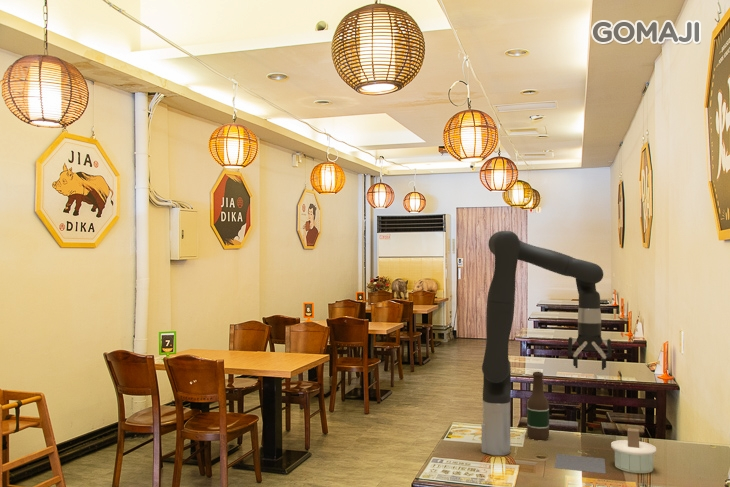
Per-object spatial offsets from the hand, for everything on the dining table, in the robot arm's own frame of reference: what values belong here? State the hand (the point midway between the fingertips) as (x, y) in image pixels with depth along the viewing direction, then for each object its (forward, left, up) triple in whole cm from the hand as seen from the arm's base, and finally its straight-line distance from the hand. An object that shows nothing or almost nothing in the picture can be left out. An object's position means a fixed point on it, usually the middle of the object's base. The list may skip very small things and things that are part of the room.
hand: (589, 368), depth 216 cm
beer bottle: (-18, +10, -28) cm, 35 cm away
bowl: (+13, -14, -28) cm, 34 cm away
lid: (+13, -14, -22) cm, 29 cm away
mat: (-3, -16, -28) cm, 32 cm away
